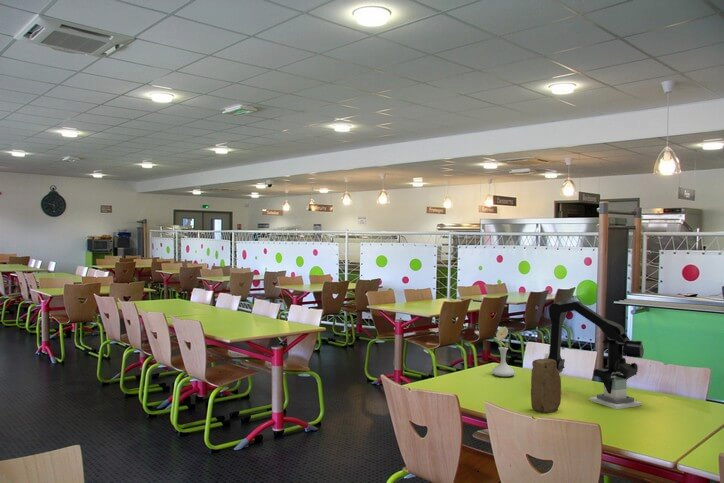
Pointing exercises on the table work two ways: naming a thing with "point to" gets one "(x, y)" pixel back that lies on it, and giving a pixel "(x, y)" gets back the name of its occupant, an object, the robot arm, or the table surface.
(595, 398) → the socket plate
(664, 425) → the table surface
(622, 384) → the grey green box
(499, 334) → the flower in vase
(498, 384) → the table surface
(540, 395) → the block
